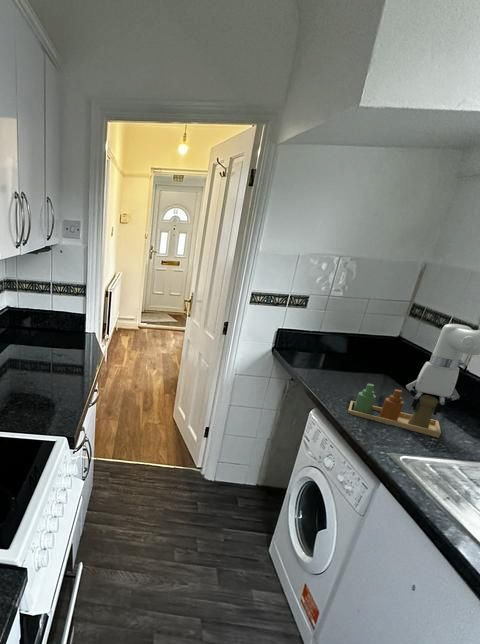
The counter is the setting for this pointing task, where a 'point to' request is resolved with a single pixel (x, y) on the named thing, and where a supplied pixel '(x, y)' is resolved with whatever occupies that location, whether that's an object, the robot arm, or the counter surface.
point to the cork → (423, 411)
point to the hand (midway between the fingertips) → (424, 410)
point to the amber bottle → (392, 406)
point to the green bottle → (365, 400)
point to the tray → (400, 421)
